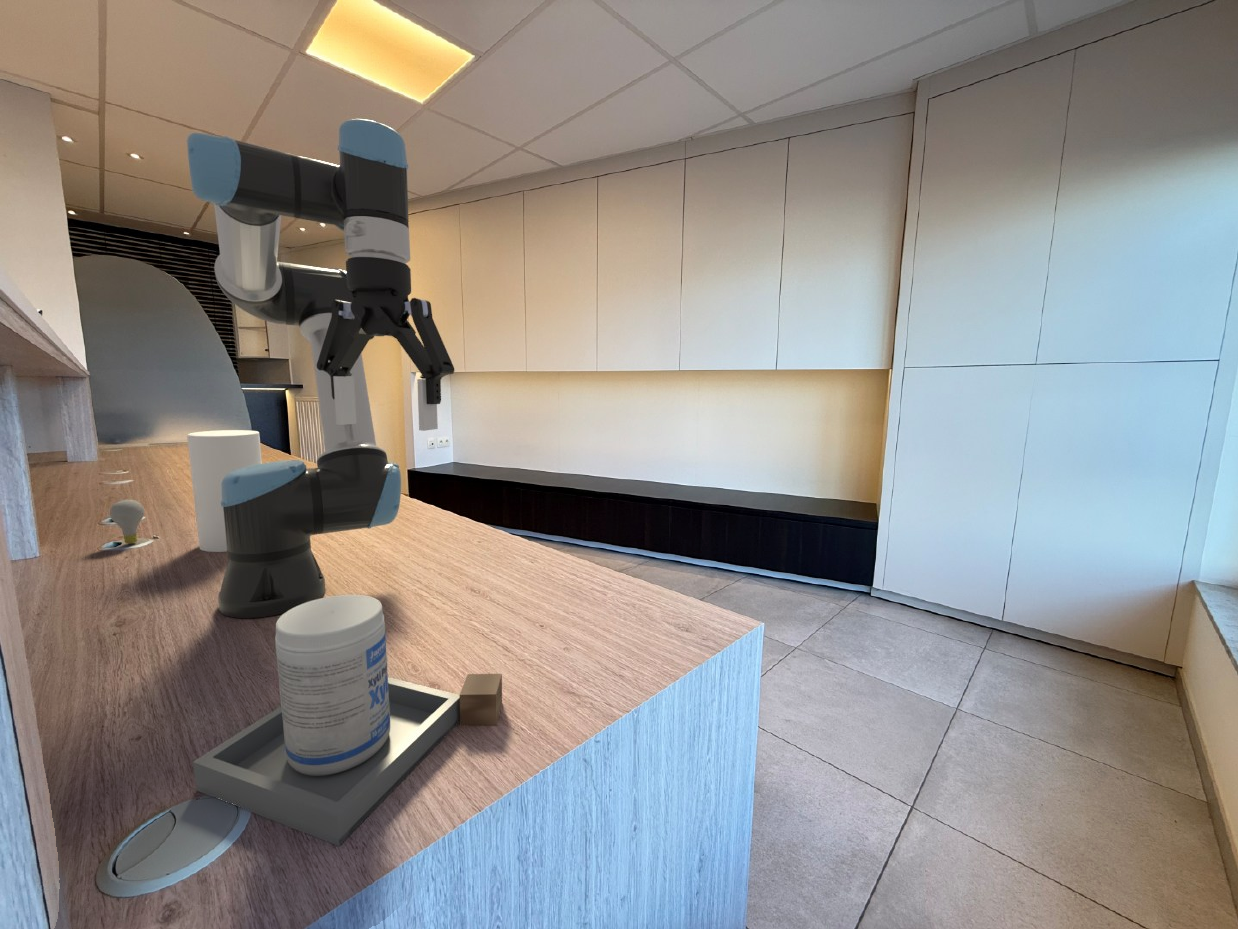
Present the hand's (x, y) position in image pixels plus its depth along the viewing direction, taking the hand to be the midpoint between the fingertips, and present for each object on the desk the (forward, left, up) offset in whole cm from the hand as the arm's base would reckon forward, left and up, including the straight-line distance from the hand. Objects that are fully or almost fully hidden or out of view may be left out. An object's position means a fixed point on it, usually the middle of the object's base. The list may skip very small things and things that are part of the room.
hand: (386, 427), depth 68 cm
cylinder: (-65, +23, -32) cm, 76 cm away
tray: (+10, -19, -32) cm, 38 cm away
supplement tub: (+10, -19, -31) cm, 38 cm away
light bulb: (-84, +14, -32) cm, 91 cm away
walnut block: (+20, -9, -32) cm, 39 cm away
